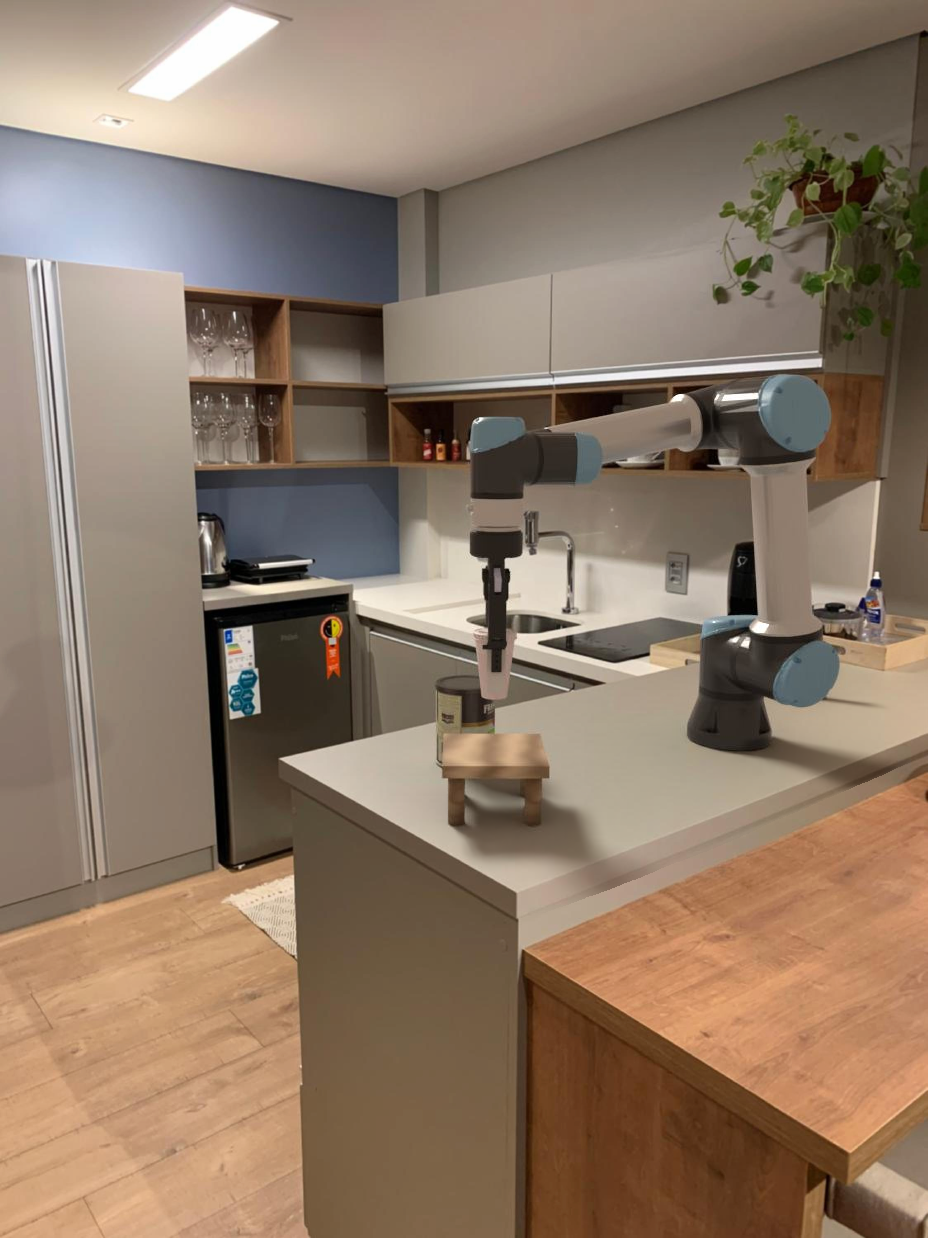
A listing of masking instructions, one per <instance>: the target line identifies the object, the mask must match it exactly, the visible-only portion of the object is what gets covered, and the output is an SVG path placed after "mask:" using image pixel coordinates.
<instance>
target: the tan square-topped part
mask: <svg viewBox="0 0 928 1238" xmlns="http://www.w3.org/2000/svg"><path fill="white" fill-rule="evenodd" d="M545 749H546V748H545V746H544V742H543V740H542V736H541V733H495V734H444V737H443V760H442V767H441V773H442V774H441V779H447V824H448V825H449V826H453V827H459V826H463V825H465V823H466V820H465V819H466V816H465V815H466V805H465V804H466V779H519V796H520V797H522V798H524V824H525V825H527V826H530V827H537V826H540V825H541V824H542V812H543V811H542V805H543V804H542V803H543V802H542V801H543V796H542V795H543V779H549V780H550V767H551V766H550V763H549V760H548V756H547V754H546V750H545Z"/></svg>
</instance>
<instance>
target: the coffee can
mask: <svg viewBox="0 0 928 1238" xmlns="http://www.w3.org/2000/svg"><path fill="white" fill-rule="evenodd" d="M434 687H435V764H436V765H437V766H439V767H440V768H442V760H443V737H444V734H496V733H495V732H496V731H495V730H496V728H495V727H496V725H495V722H496V719H495V718H496V700H491V699H485V698H483V697H482V695H481V686H480V677H479V675H473V674H457V675H449V676H444V677H441V678H437V679H436V680H435V681H434Z"/></svg>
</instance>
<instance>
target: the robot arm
mask: <svg viewBox="0 0 928 1238" xmlns="http://www.w3.org/2000/svg"><path fill="white" fill-rule="evenodd" d="M831 411H832V410H831V406H830V402H829V399H828V396H827V395H826V393H825V391H824V390H823V388H822V387H821V386H820V385H819V384H817V382H815V380H813V379H812V378H810V377H808V376H806V375H800V374H788V373H784V374H783V373H782V374H781V373H778V374H774V375H766V376H758V377H757V376H755V377H746V378H736V379H731V380H730V379H729V380H725V381H722V382H719V383H716V384H713V385H710V386H707V387H703V388H699V389H697V390H694V391H690V392H685V393H681V394H677V395H675V396H673V397H672V398H671V399H670V400H669V402H666V403H663V404H662V403H661V404H657V405H652V406H647V407H640V408H636V409H631V410H626V411H623V412H616V413H611V414H607V415H602V416H598V417H597V416H596V417H591V418H587V419H582V420H576V421H572V422H571V421H570V422H567V423H566V422H565V423H561V424H557V425H556V424H555V425H552V426H551V425H550V426H547V427H543V428H537V429H533V430H532V429H531V430H527V428H526V425H525V421H524V419H523V418H522V417H519V416H517V417H516V416H515V417H513V416H483V417H481V416H480V417H477V418H475V419H474V420H473V421H472V424H471V430H470V439H469V440H470V443H469V449H468V450H469V451H468V452H469V463H470V465H469V466H470V473H469V474H470V477H469V478H470V493H469V497H470V503H471V504H466V506H465V511H466V512H470V517H469V520H470V524H469V525H470V526H472V527H473V528H474V529H472V530H471V531H470V532H469V554H470V556H472V557H474V558H478V559H487V561H486V563H487V564H485V567H484V568H483V567H482V568H481V580H482V584H483V585H482V586H483V587H482V593H483V599H484V601H485V612H484V613H485V617H484V620H485V623H484V626H483V628H488V642H487V645H482V649H483V650H486V694H505V677H506V647H507V641H506V628H507V602H508V601H509V598H510V597H509V595H510V594H509V591H510V587H509V583H510V582H511V570H510V568H508V567H507V568H506V559H514V558H515V559H516V558H519V557H521V556H522V555H523V549H524V548H523V546H524V544H523V543H524V541H523V539H524V532H522V530H521V529H520V528H521V527H523V525H524V520H525V519H524V518H525V517H524V515H525V514H524V511H525V508H524V507H525V506H524V503H525V500H524V499H525V498H524V491H525V486H527V487H529V486H530V487H531V486H573V487H576V486H580V485H581V486H583V485H590V484H592V483H594V482H595V481H596V480H597V478H598V477H599V476H600V473H601V471H602V467H603V465H604V464H608V463H613V462H618V461H623V460H626V459H631V458H636V457H641V456H646V455H650V454H654V453H660V452H665V451H670V450H674V449H678V450H679V451H682V452H686V453H687V452H693V451H696V450H711V449H712V450H734V451H738V458H739V467H741V468H742V469H743V470H744V471H745V472H747V473H748V475H749V477H750V492H751V493H750V495H751V510H752V511H751V514H752V529H753V530H752V532H753V546H754V547H753V548H754V549H753V551H754V565H755V566H754V569H755V581H756V582H755V584H756V602H757V603H756V604H757V605H756V606H757V615H755V614H754V615H753V614H739V615H737V614H735V615H719V616H712V617H709V618H707V619H705V620H704V621H703V623H702V627H701V635H700V637H699V641H700V646H699V647H700V648H699V650H700V651H699V652H700V653H699V670H698V671H699V673H698V674H699V676H698V695H697V698H696V700H695V704H694V706H693V708H692V711H691V713H690V716H689V718H688V720H687V725H686V736H687V738H688V739H689V740H690V741H692V742H694V743H695V744H698V745H701V746H704V747H707V748H713V749H717V750H718V749H719V750H724V751H726V750H727V751H754V749H755V750H759V749H760V748H761V749H764V748H766V747H768V746H770V745H771V744H772V735H773V734H772V733H773V731H772V726H771V721H770V719H769V715H768V711H767V707H766V703H765V698H767V699H770V700H773V701H775V702H777V703H778V704H780V705H782V706H783V705H785V706H792V707H795V708H809V707H812V706H814V705H816V704H818V703H820V702H821V701H822V700H823V698H825V697H826V696H828V695H829V692H830V691H831V690H832V689H833V687H834V686H835V684H836V683H837V679H838V676H839V672H840V666H841V665H840V664H841V662H840V661H841V660H840V657H839V654H838V651H837V650H836V649H835V648H834V646H833V645H832V644H830V643H828V642H827V641H826V640H824V632H823V631H824V630H823V626H824V625H823V622H822V621H821V620H820V619H819V618H818V617H817V616H816V615H814V614H813V599H812V578H811V577H812V576H811V574H812V573H811V554H810V551H811V550H810V549H811V548H810V536H809V535H810V533H809V532H810V529H809V510H808V509H809V507H808V506H809V505H808V483H807V481H808V480H807V469H808V468H809V467H810V466H811V464H812V463H814V461H816V459H817V456H816V455H817V453H816V450H817V449H816V448H818V446H820V445H821V444H822V443H823V441H824V440H825V439H826V433H828V432H829V430H830V427H831V421H832V413H831ZM494 638H496V639H494ZM826 698H827V697H826ZM770 743H771V744H770Z"/></svg>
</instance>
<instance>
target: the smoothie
mask: <svg viewBox="0 0 928 1238" xmlns="http://www.w3.org/2000/svg"><path fill="white" fill-rule="evenodd" d="M472 634H473V635H472V639H474V642H475V651H476V657H477V658H476V659H477V666H478V676H479V677H480V686H481V695H482V697H483V698H485V699H491V700H495V701H496V700H498V701H499V700H504V699H506V698H507V697H508V692H509V691H508V690H509V684H510V676H511V671H512V669H511V668H512V663H513V662H512V661H513V655H514V649H515V648H514V647H515V641H516V640H517V639H518V635H517V634H518V632H517V630H515V629H512V628H507V627H506V641H507V647H506V677H505V694H486V650H483V649H482V645H487V642H488V628H484V627H481V628H476V629H475V630H473V633H472ZM494 639H496V638H494Z"/></svg>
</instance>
